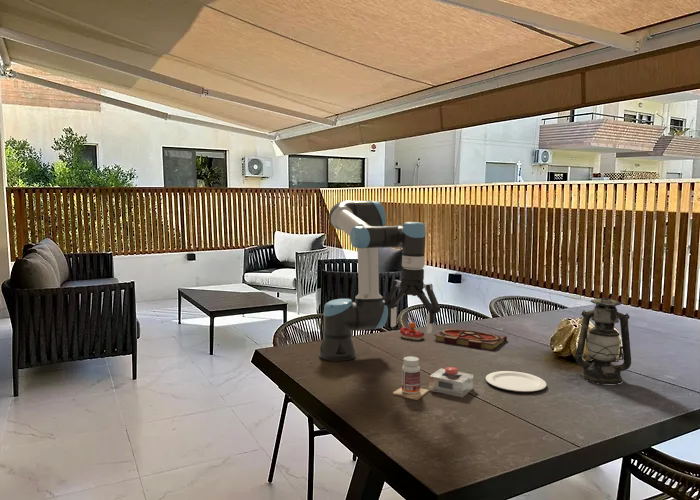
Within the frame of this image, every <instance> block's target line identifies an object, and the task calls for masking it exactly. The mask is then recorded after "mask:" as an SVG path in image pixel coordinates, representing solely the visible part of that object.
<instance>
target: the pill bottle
mask: <svg viewBox="0 0 700 500" xmlns="http://www.w3.org/2000/svg"><path fill="white" fill-rule="evenodd" d="M402 363H403V365H402V367H401V387H402V391H403V392H404V393H407V394H416V393H419V391H420V388H421V367H420V358H419V357H416V356H411V355H409V356H405V357H403V362H402Z"/></svg>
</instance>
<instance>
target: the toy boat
mask: <svg viewBox="0 0 700 500" xmlns="http://www.w3.org/2000/svg"><path fill="white" fill-rule="evenodd" d="M408 326H409V328H408V327H405V326H402V327H400V329H399V334H400V336H401V337H402V338H403V339H408V340H411V339H412V341H420V340H422V339H424V337H425V332H424V331H422V330H415V328H416V323H415V322H413V321H412V322H410V323H409V324H408Z"/></svg>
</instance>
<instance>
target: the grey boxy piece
mask: <svg viewBox="0 0 700 500" xmlns="http://www.w3.org/2000/svg"><path fill="white" fill-rule="evenodd" d="M428 377H429V379H428V380H429V381H428V390H429V391H430V392H435V393H441V394H445V395H449V396H453V397H458V398H465V396H466V395H467V394H468V393H470V392H471V391H472V390H473V389H474V374H473V373H467V372H462V371H458V374H455V378H452V377H448V374H447V373H445V368H443V367H442V368H439V369H437V370H436V371H435V372H433V373H432V374H430V375H429V376H428Z"/></svg>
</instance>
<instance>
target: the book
mask: <svg viewBox="0 0 700 500" xmlns="http://www.w3.org/2000/svg"><path fill="white" fill-rule="evenodd" d="M433 336H434V337H435V339H434V340H433V342H437V343H444V344H448V345H454V346H460V347H461V346H462V347H468V348H472V349H473V348H474V349H478V350H486V351H493V352H494V351H495V350H497V348H498V346H500V345H501V344H502V343H503V342H507V340H508V337H507V335H500V334H492V333H487V332H482V331H475V330H466V329H459V328H458V329H457V328H452V327H448V328H446V329H444V330H442V331H439V332H438V333H435V334H433ZM499 344H500V345H499Z"/></svg>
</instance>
